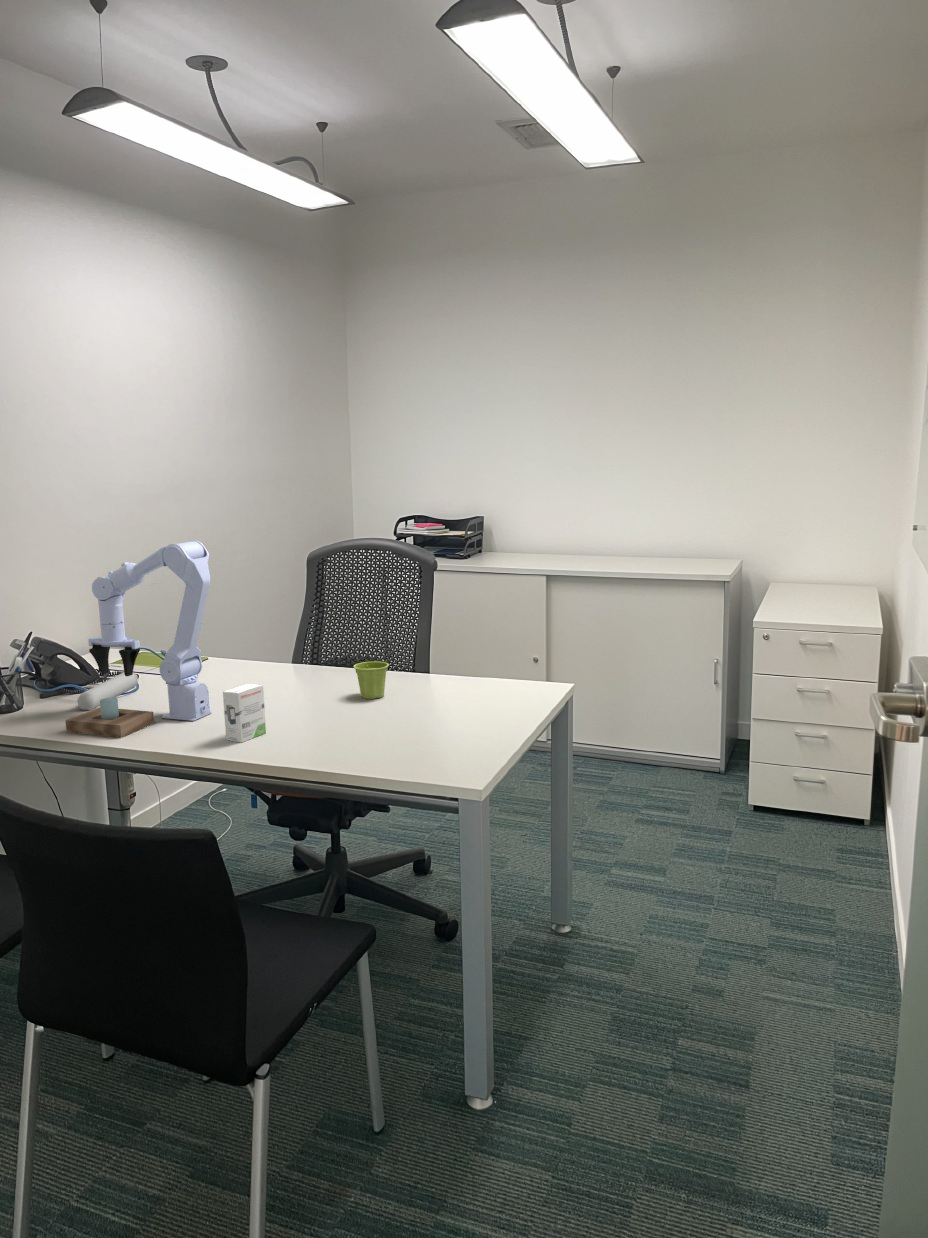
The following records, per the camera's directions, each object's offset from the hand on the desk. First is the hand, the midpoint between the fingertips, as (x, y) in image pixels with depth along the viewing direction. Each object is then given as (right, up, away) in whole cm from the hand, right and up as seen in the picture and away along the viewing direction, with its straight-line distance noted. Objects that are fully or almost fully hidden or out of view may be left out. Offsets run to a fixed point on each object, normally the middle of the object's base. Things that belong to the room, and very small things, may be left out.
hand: (116, 674), depth 238 cm
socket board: (+4, -12, -14) cm, 19 cm away
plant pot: (+65, -7, +10) cm, 66 cm away
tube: (-7, -8, +13) cm, 17 cm away
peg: (+4, -12, -14) cm, 19 cm away
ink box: (+39, -13, -23) cm, 47 cm away
